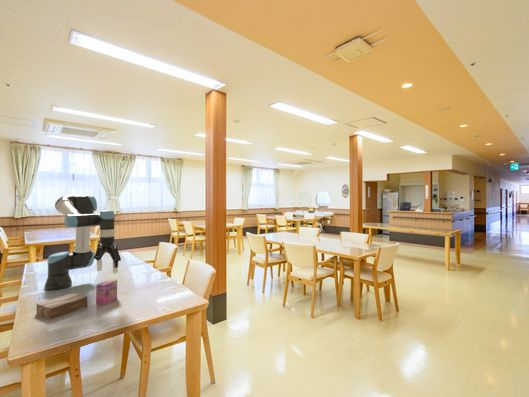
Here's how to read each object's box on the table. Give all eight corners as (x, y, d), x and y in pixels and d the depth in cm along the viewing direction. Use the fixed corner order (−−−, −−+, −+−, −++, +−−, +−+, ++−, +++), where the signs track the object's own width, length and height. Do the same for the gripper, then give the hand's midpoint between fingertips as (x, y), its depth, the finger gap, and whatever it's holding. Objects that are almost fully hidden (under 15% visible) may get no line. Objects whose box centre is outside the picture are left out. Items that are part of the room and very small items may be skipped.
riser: (36, 314, 141) (36, 303, 141) (73, 302, 157) (73, 292, 157) (50, 320, 135) (50, 308, 135) (87, 307, 151) (87, 296, 151)
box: (104, 305, 153) (104, 285, 153) (95, 304, 154) (95, 284, 154) (117, 298, 163) (117, 279, 163) (109, 298, 164) (109, 279, 164)
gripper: (87, 236, 160) (87, 271, 160) (116, 238, 150) (116, 275, 150) (99, 234, 167) (99, 268, 166) (127, 236, 157) (127, 272, 157)
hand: (107, 271), depth 158 cm, fingers open, 13 cm apart
